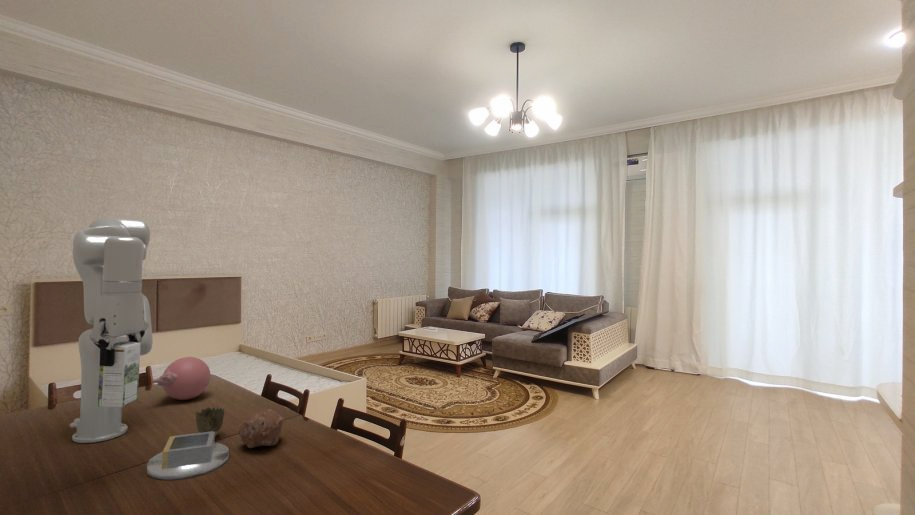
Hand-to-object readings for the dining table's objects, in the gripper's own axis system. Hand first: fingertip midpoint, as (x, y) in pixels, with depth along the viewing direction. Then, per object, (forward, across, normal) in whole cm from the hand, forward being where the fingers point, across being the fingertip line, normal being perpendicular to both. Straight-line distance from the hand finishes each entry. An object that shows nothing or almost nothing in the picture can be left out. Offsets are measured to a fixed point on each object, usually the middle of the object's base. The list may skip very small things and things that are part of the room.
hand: (119, 361), depth 106 cm
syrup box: (+10, 0, 0) cm, 10 cm away
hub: (+27, -8, +13) cm, 31 cm away
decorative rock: (+28, -21, +25) cm, 43 cm away
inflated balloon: (+29, -52, -24) cm, 64 cm away
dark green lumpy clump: (+28, -23, +8) cm, 37 cm away
